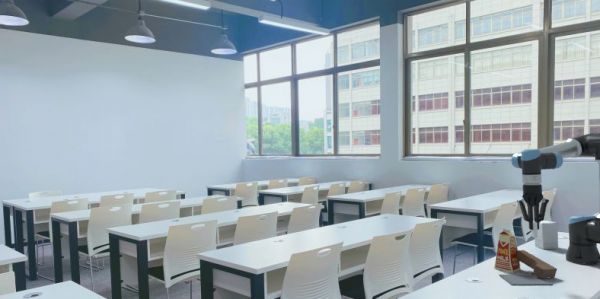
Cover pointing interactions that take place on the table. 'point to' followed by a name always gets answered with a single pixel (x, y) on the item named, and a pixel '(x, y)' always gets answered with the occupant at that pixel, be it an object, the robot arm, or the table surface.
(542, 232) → the supplement box
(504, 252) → the milk carton
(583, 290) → the table surface
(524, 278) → the mat
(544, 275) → the wooden block
